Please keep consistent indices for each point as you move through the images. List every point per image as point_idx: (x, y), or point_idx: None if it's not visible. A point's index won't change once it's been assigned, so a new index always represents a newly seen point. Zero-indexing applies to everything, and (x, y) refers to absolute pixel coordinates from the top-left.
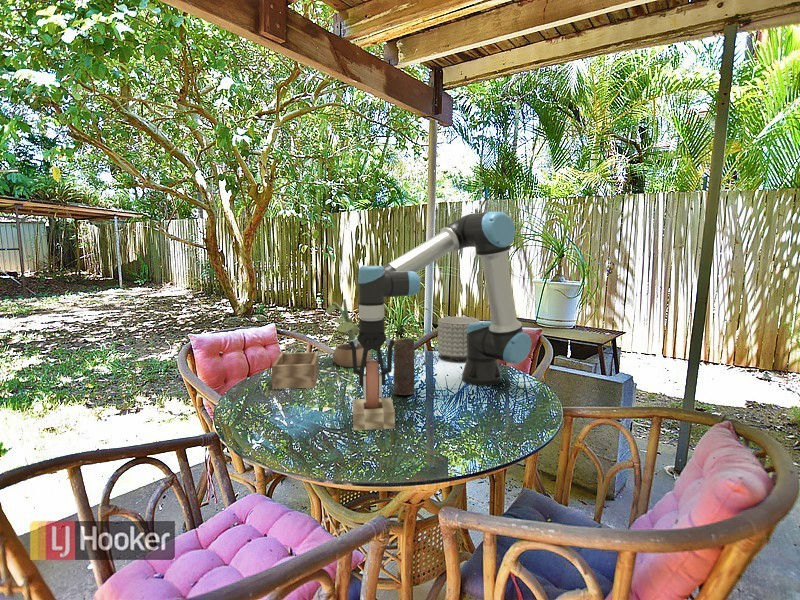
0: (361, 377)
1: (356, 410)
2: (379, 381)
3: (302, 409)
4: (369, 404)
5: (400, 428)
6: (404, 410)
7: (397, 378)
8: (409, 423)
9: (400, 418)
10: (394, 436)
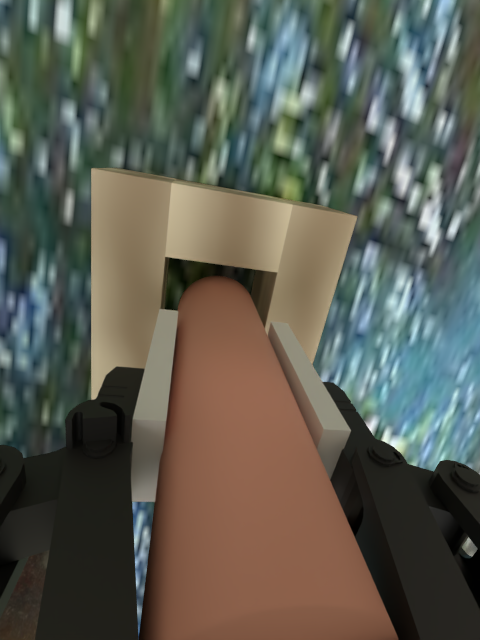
0: (354, 435)
1: (323, 263)
2: (168, 378)
3: (432, 446)
4: (244, 293)
5: (85, 160)
6: (43, 374)
7: (28, 595)
8: (27, 213)
9: (72, 288)
10: (132, 52)
